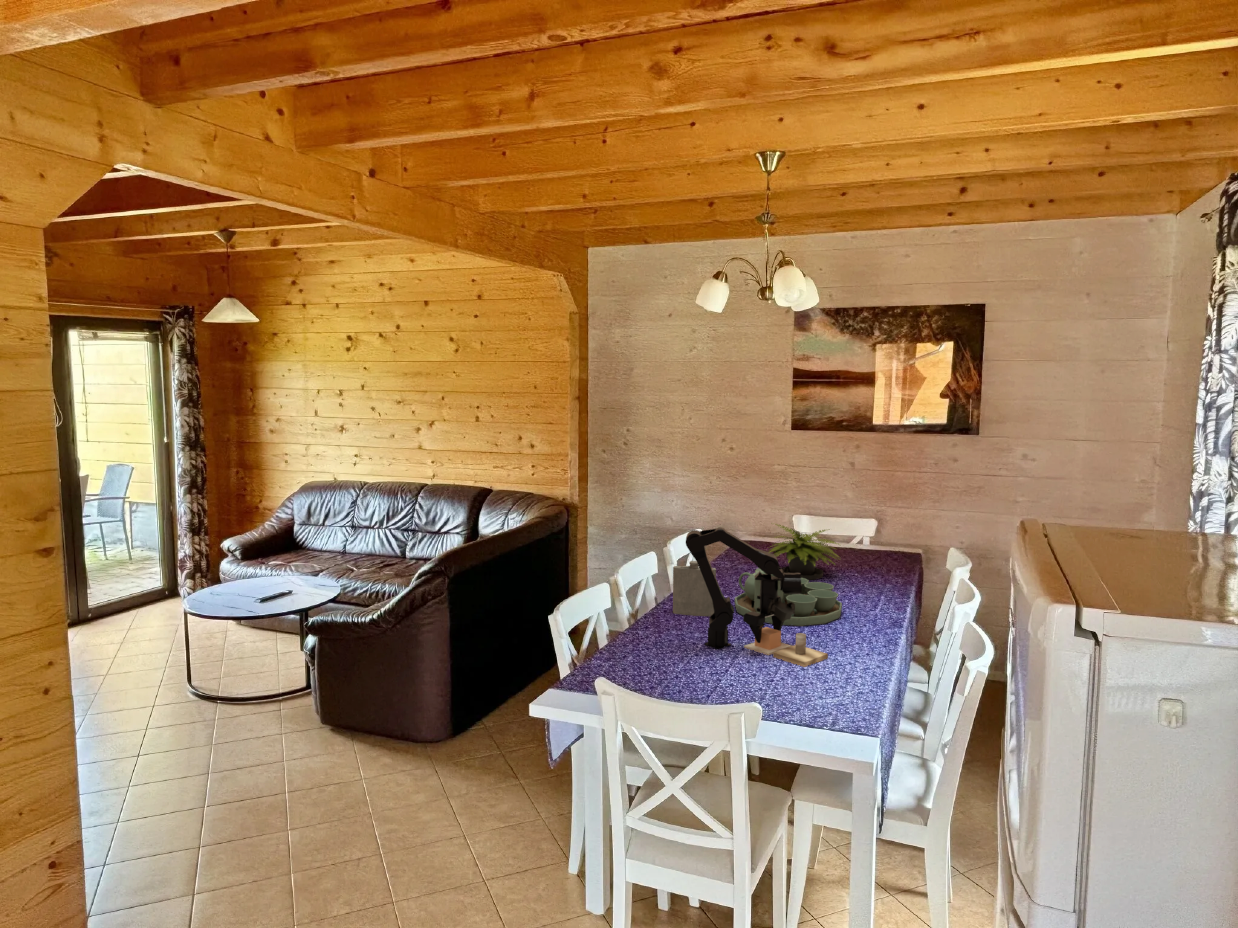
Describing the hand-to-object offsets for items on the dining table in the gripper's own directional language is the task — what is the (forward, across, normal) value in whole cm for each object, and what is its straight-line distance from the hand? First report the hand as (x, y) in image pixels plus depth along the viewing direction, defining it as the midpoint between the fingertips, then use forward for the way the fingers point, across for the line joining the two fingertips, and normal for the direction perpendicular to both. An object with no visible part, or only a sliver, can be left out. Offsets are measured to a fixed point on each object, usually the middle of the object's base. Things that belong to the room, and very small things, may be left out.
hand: (767, 639), depth 271 cm
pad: (+3, 0, 0) cm, 3 cm away
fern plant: (+3, +89, +52) cm, 103 cm away
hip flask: (+3, +9, +42) cm, 43 cm away
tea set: (+3, +40, +22) cm, 45 cm away
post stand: (+3, 0, -13) cm, 13 cm away
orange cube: (+2, 0, 0) cm, 2 cm away
